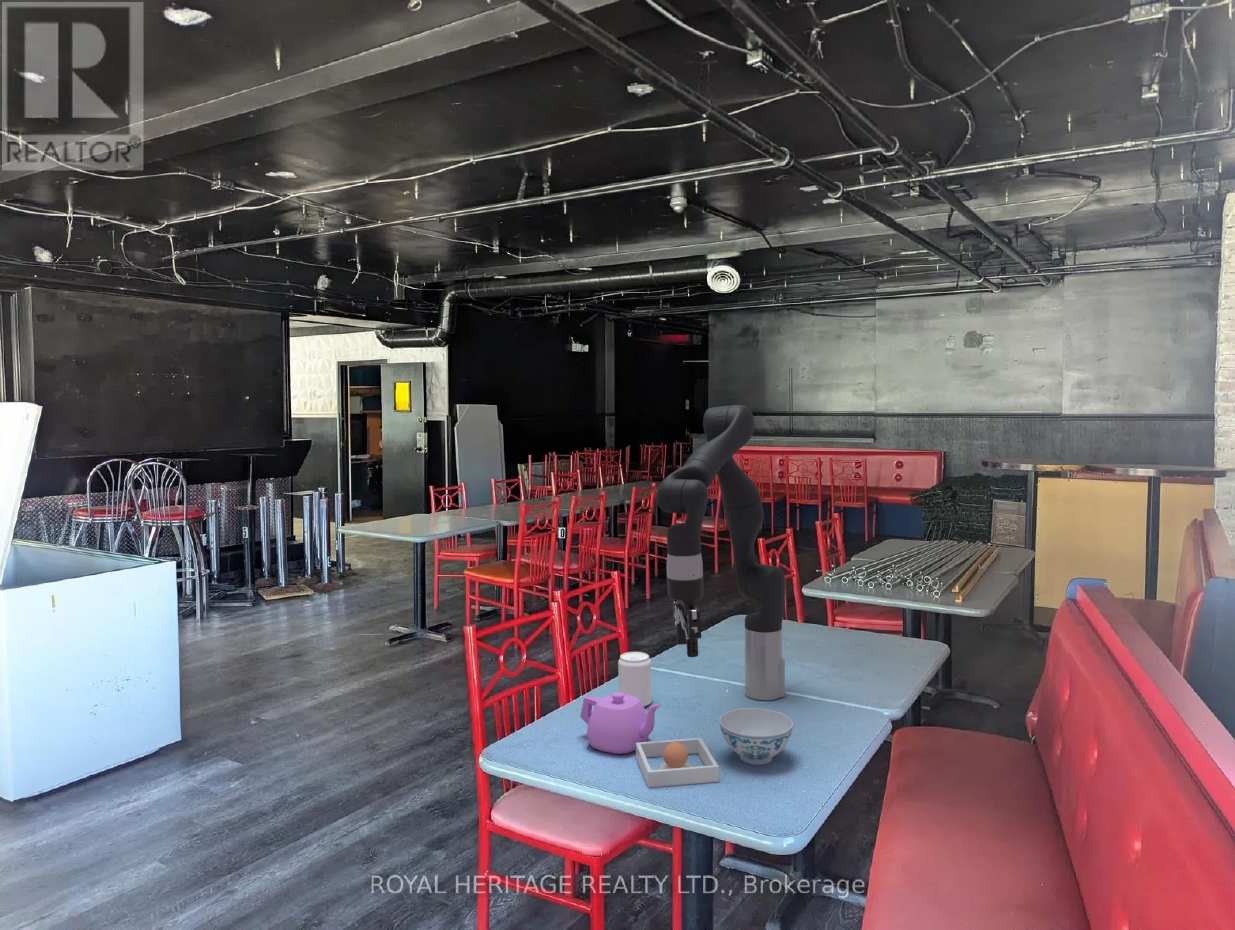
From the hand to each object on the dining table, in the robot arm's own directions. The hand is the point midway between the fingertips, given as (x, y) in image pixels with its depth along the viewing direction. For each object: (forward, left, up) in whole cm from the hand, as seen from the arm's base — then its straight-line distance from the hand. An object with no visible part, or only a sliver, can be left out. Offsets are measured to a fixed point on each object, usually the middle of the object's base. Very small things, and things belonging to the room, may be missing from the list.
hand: (687, 650), depth 167 cm
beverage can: (+6, -30, -22) cm, 38 cm away
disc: (+4, +7, -22) cm, 24 cm away
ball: (+4, +7, -22) cm, 23 cm away
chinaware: (-13, +5, -22) cm, 26 cm away
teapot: (+13, -7, -22) cm, 27 cm away
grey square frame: (+4, +7, -22) cm, 24 cm away
